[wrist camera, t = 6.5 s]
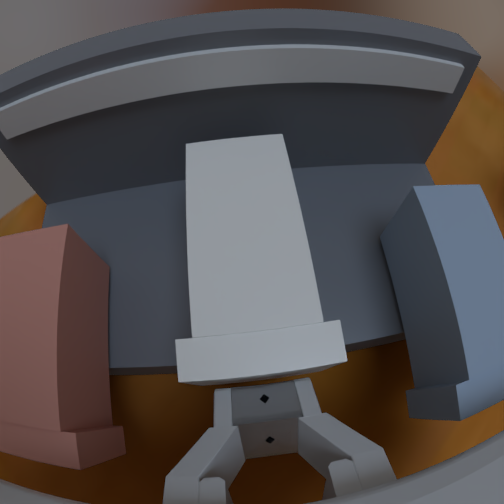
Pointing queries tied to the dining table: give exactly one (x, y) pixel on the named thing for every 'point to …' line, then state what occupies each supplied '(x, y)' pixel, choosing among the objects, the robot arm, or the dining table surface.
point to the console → (233, 126)
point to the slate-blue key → (449, 299)
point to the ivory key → (250, 269)
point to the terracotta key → (55, 351)
